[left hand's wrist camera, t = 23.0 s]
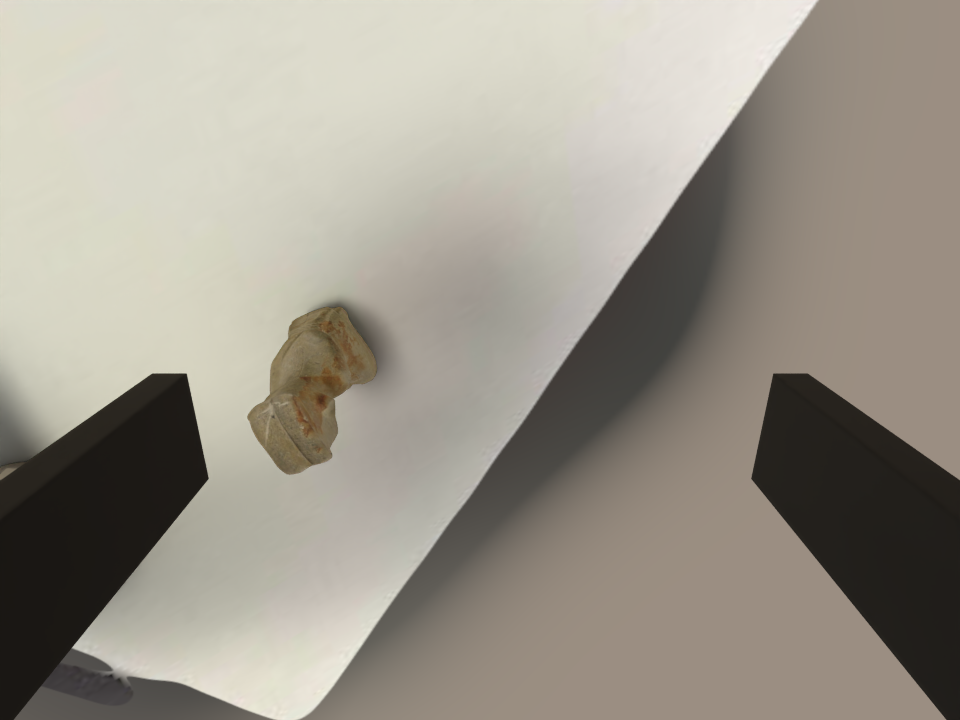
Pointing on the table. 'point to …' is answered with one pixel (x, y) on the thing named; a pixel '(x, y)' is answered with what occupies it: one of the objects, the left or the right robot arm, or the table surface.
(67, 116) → the table surface
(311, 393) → the sculpture
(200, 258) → the table surface
